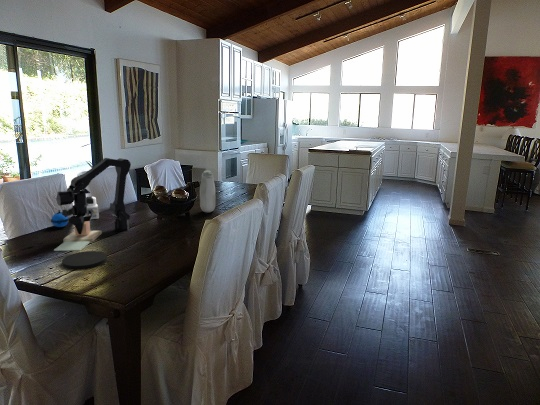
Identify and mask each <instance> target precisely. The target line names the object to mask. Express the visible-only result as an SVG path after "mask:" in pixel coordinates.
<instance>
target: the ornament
mask: <svg viewBox="0 0 540 405" xmlns="http://www.w3.org/2000/svg"><path fill="white" fill-rule="evenodd" d="M69 218H70V217H69V216H67V217H65V216H63V215H62V212H61V210H60V209H58V212H55V213H54V214H53V215H52V216H51V219H50V221H51V223H52V225H53V226H54V227H57V228H63V227H65V226H67V225H68V224H69V223H68V219H69Z"/></svg>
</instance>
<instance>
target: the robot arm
mask: <svg viewBox="0 0 540 405" xmlns="http://www.w3.org/2000/svg"><path fill="white" fill-rule="evenodd" d="M109 167H114V169H115V172H116V183H115V184H116V185H115V192H114V199H113V202H110V203H109V209H108V211H109V214H110V215H111V216H113V218H114V219H115V221H114V231H115V232H119V231H120V232H127V231H128V230H129V229H130V228H131V226H129V225H130V224H129V220H130V219H131V215H130V214H128V212H126V205H125V202H124V201H125V191H126V183H127V182H126V180H127V175H128V174H129V172H130V169H131V162H130V160H128V159H126V158H123V157H122V158H117V159H114V158H109V157H104V158H103V159H102V160H100V161H99V162H98V163H97V164H96V165H94V166H92V167H91V168H90V169H89V170H87V171H86V172H85V173H83V174H78V175H77V176H76V177H74V178H72V179H71V180H70V185H69V186H68V187H67V189H66V190H64V191H57V192H56V198H55V200H56V203H57V206H65V205H72V204H73V205H72V206H71V207H69V208H64V209H62V215H63V216H65V217H67V216H68V218H69V219H68V223H67V224H71V225H75V227H76V229H77V231H78V234H81V233H82V229H83V226H84V222H85V221H90V222H91V220H92V219H91V218H92V215H93V214H94V211H93V210H92V209H87V206H88V203H87V202H86V197H87V194H90V193H91V191H89V190H88V188H87V187H88V186H89V185H90V184H91V182H92V181H93V179H95V178H96V177H97V176H98V175H99V174H101V173H102V172H104V171H106V169H108V168H109ZM90 214H91V215H90ZM69 216H70V217H69ZM75 227H74V228H75Z"/></svg>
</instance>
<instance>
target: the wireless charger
mask: <svg viewBox="0 0 540 405" xmlns="http://www.w3.org/2000/svg"><path fill="white" fill-rule="evenodd" d="M61 260H62V261H61V263H62V267H63V268H64V269H67V270H74V271H75V270H78V271H80V270H88V269H93V268H97V267H100V266H102V265H104V264H105V263H107V261H108V254H107V253H105V252H103V251H99V250H87V251H80V252H75V253H72V254H69V255H67V256H65V257H64V258H62V259H61Z"/></svg>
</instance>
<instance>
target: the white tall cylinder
mask: <svg viewBox="0 0 540 405" xmlns="http://www.w3.org/2000/svg"><path fill="white" fill-rule="evenodd" d="M215 185H216V184H215V179H214V173H213V172H212V171H211V170H210V169H209V170H206V169H205V170H204V171H202V173H201V181H200V185H199V207H200V209H201V211H203V212H204V213H211V212H213V211H214V210H215V208H216V186H215Z"/></svg>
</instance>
